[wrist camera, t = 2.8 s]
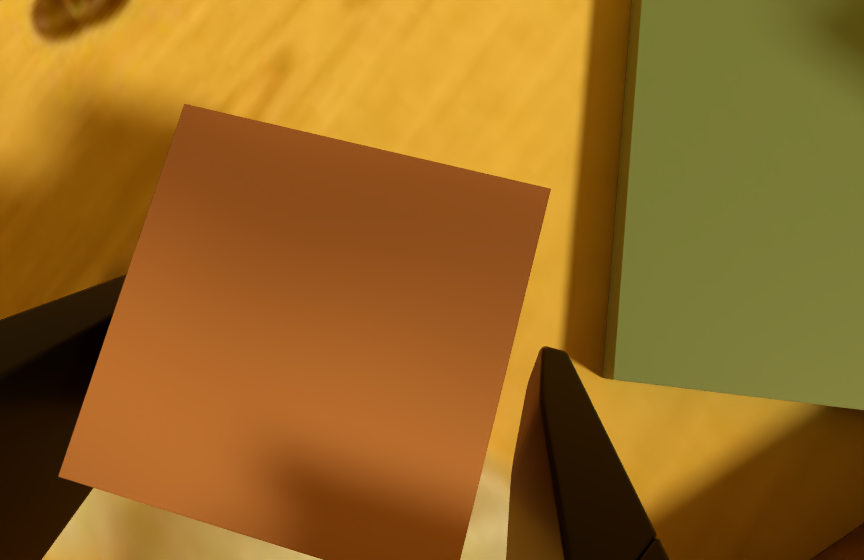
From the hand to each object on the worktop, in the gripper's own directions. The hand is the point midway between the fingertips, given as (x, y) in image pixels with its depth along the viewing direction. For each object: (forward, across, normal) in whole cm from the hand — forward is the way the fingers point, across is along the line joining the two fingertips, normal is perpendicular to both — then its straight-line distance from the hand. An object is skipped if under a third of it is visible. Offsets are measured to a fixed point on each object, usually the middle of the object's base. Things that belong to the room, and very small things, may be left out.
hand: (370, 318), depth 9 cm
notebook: (+10, -9, 0) cm, 13 cm away
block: (+4, 0, +5) cm, 7 cm away
